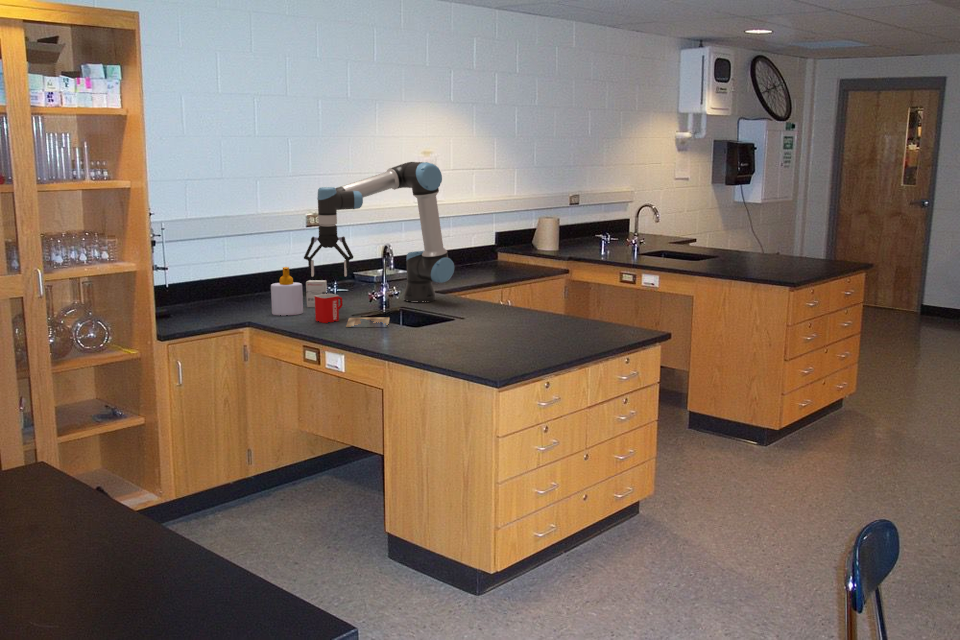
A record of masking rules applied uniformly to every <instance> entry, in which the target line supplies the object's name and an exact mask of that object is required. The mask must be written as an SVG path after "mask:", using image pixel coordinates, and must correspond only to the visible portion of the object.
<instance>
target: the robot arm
mask: <svg viewBox="0 0 960 640" xmlns="http://www.w3.org/2000/svg"><path fill="white" fill-rule="evenodd" d="M442 181H443V175H442V171H441V170H440V168H439V167H438V166H437V165H436V164H434V163H431V162H428V161H427V162H426V161H423V162H422V161H408V162H405V163H402V164H398V165H396V166H393V167H390V168H388V169H386V171H384V172H382V173H378V174H375V175H372V176H370V177H366V178H363V179H360V180H357V181H354V182H350V183H348V184H344V185H342V186H338V187H335V186H328V187H327V186H321V187H319V188H318V189H317V197H316V199H317V212H318V213H317V215H318V216H317V217H318V225H319V226H318V237H317V236H316V237H315V236H312V237H311V238H310V243H309V246H308V247H307V250H306V252H305V254H304V256H303V260H306V261H308V265H307V266H308V269H311V270H310V271H311V272H310V274H311V277H312V278H313V277H314V276H315V264H314V262H315V261H314V259H313V258H314V257H315V256H316V254H318V252H319V251H320V250H321V249H322V248H325V249H328V248H334V249H336V251H338V253H339V254H340V255H341V256H342V258H344V260H343V265H344V266H343V267H344V269H343V270H344V271H343V272H344V273H343V274H344V277H347V276H348V270H347V269H349V268H350V261H351V260H353V259H354V255H353V253H352V251H351V249H350V247H349V246H348V244H347V241H346V237H345V236H341V237H338V226H337V224H338V218H337V217H338V216H337V215H338V213H337V212H338V211H340V210H341V211H342V210H344V211H345V210H356V209H357V210H358V209H360V208H362V207H363V204H364V203H363V202H364V198H366V197H369V196H370V197H371V196H373V195H375V194H378V193H382V192H385V191H387V190H391V189H392V190H398V189H403V188H404V189H405V188H406V189H408V188H409V189H411V190H412V195H413V197H415V198H416V200H417V208H418V215H419V216H418V217H419V221H420V228H421V236H422V241H423V243H422V244H423V248H424V250H416V251H409V252H407V253H406V260H405V261H406V286H405V288H404V293H403V298H402V300H403V299H405V300H408V301H418V302H422V301H424V302H425V301H426V302H425V303H428V302H427V301H432V302H435V301H437V299H436V298H437V295H436V292H435V289H434V286H433V282H434V283H440V284H441V283H443V284H444V283H446V282H448V281H449V280H450V279H451V278H452V276H453V275H454V273H455V263H454V261H453V260H452V259H451V258H450V257H449V254H448V250H447V249H446V248H445V247H444V242H443V234H442V228H441V222H440V221H441V220H440V213H439V207H438V199H437V195H438V194H439V191H440V188H439V187H441V184H442ZM317 242H319V245H318V246H317V247H316V249H315V250H314V251H313V253H312V254H311V255H310V253H311V251H312V248H313V246H314V244H315V243H317ZM338 242H340V243H342V245H343V247H344V250H345V251H346V252H345V251H344V250H343V249H342V248H341V247H340V246H339V244H338ZM346 253H347V254H346ZM309 255H310V256H309ZM434 300H435V301H434Z"/></svg>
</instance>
